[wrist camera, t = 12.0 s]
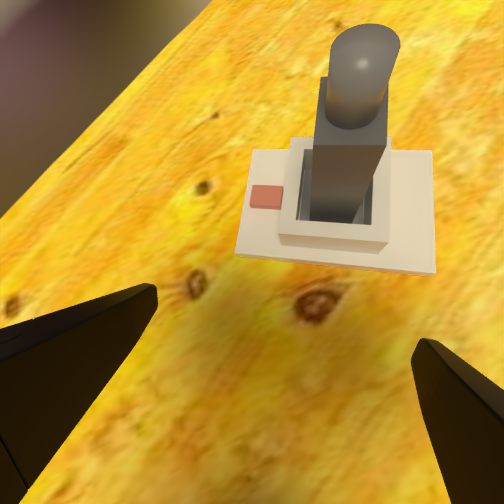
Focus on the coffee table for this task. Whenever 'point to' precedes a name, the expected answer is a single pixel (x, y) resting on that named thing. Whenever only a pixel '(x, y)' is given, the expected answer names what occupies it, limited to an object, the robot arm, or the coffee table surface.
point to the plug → (351, 121)
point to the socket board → (341, 234)
